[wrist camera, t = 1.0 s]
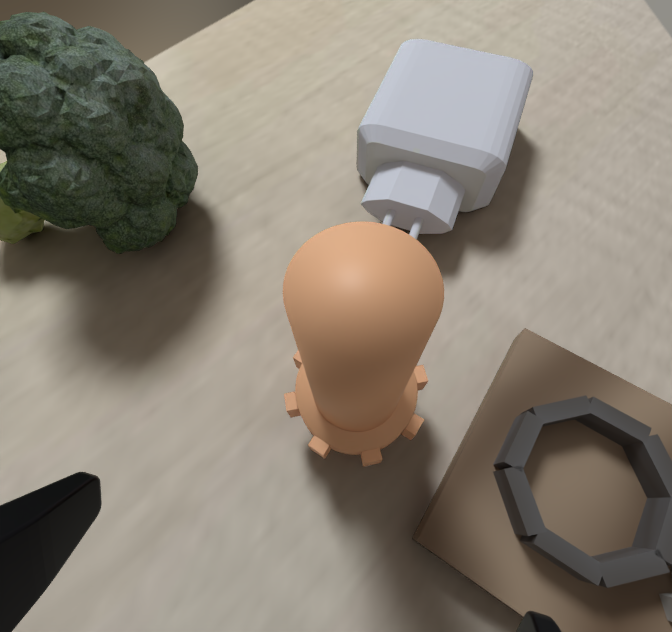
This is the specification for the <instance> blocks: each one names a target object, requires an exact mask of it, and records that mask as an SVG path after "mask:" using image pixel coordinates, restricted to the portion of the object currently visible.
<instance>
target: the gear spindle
mask: <svg viewBox="0 0 672 632" xmlns="http://www.w3.org/2000/svg"><path fill="white" fill-rule="evenodd" d="M283 300H284V305H285V309H286V313H287V316H288V319H289V322H290V325H291V328H292V332H293V335H294V338H295V341H296V344H297V347H298V351H297V353H296V354H295V355H294V357H293V359H294V361H295V364H296V367H297V368H299V372H298V375H297V379H296V389H295V392H290V393H285V394H284V397H285V403H286V410H287V412H288V414H289V415H290V417H295V416H300V415H301V416H302V418H303V420H304V422H305V424H306V426H307V428H308V429H309V431H310V432H311V433H312V435H313V438H312V439H311V441H310V443H309V444H308V446H309V447H310V449H311V450H312V451H314V452H315V453H317V454H318V455H320V456H321V457H323V458H324V459H325V458H326V457H327V455H328V454H329V452H330V450H331V449H332V450H334V451H337V452H340V453H344V454H350V455H361V459H362V464H363V467H365V466H369V465H374V464H378V463H381V461H382V460H383V459H382V455H381V451H380V450H381V449H383V448H385V447H387V446H388V445H390V444H391V443H392V442H393V441H395V440H396V439H397V438H398V437H399V435H400V434H401V433H402V435H403V436H405V437H406V438H408V439H409V440H412V438H413V437H414V436H415V435H416V434H417V432H418V430H419V428H420V426H421V425H422V423H423V421H424V419H422V418H421V417H419V416H418V415H416V414H414V410H415V407H416V403H417V394H418V390H422V389H423V388H424V387H425V385H426V384H427V382H428V379H427V376H426V373H425V369H424V366H423V365H419V366H416V365H417V363H418V361H419V359H420V357H421V355H422V352H423V350H424V348H425V346H426V344H427V342H428V340H429V338H430V336H431V334H432V332H433V330H434V327H435V325H436V323H437V321H438V319H439V317H440V314H441V311H442V307H443V301H444V285H443V279H442V276H441V272H440V270H439V268H438V265H437V263H436V261H435V260H434V258H433V257H432V255H431V254H430V253H429V251H428V250H427V249H426V248H425V247H424V246H423V245H422V244H421V243H420V242H419V241H418V240H416V239H415V238H413V237H412V236H411V235H409V234H407V233H405V232H404V231H402V230H399V229H397V228H395V227H392V226H389V225H385V224H381V223H375V222H350V223H344V224H340V225H336V226H333V227H331V228H328V229H326V230H324V231H322V232H320V233H318V234H316V235H315V236H313V237H312V238H310V239H309V240H308V241H307V242H306V243H304V244H303V245H302V247H301V248H300V249H299V250H298V251H297V252H296V254H295V255H294V257H293V258H292V260H291V262H290V264H289V266H288V268H287V271H286V274H285V278H284V283H283ZM413 414H414V415H413ZM403 430H404V431H403Z"/></svg>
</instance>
